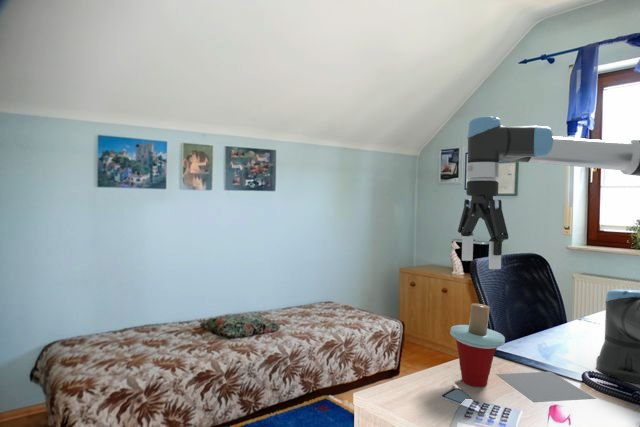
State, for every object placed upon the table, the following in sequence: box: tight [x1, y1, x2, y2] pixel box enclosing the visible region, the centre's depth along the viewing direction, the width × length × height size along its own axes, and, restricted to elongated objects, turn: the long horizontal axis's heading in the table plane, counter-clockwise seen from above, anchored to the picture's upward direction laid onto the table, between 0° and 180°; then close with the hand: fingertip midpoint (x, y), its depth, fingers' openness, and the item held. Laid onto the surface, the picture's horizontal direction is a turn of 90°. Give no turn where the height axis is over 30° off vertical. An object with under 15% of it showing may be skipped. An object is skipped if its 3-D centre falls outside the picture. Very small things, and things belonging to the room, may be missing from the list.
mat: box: [495, 371, 597, 403], centre depth 111 cm, size 16×16×1 cm
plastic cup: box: [455, 338, 498, 388], centre depth 112 cm, size 11×11×12 cm
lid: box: [450, 303, 506, 348], centre depth 112 cm, size 13×13×8 cm
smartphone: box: [440, 387, 473, 406], centre depth 102 cm, size 7×1×15 cm
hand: (480, 264), depth 111 cm, fingers open, 13 cm apart
